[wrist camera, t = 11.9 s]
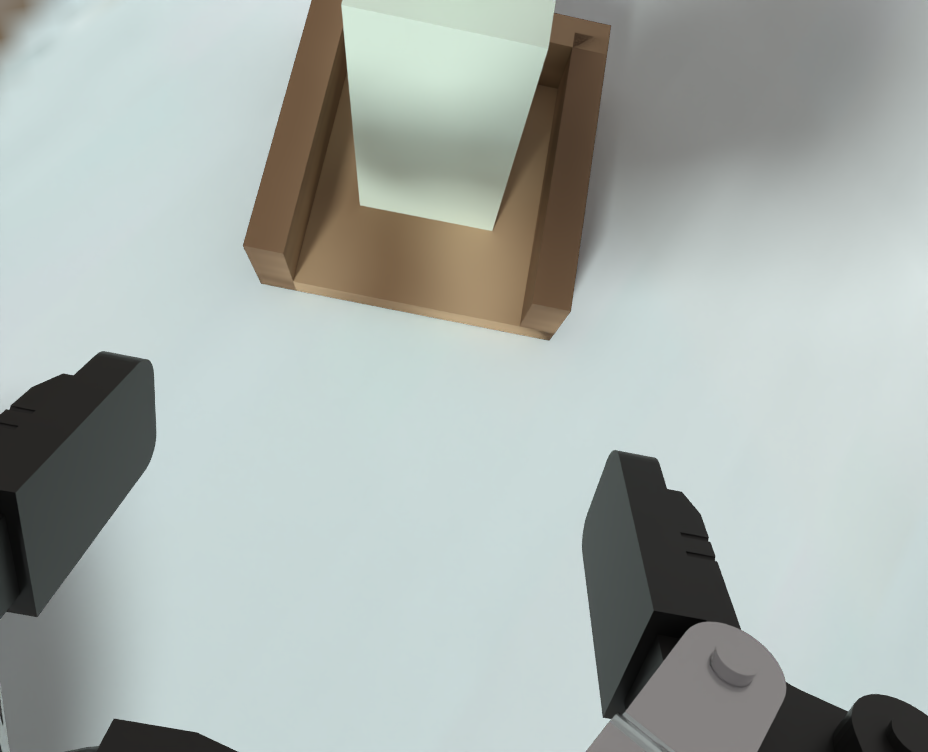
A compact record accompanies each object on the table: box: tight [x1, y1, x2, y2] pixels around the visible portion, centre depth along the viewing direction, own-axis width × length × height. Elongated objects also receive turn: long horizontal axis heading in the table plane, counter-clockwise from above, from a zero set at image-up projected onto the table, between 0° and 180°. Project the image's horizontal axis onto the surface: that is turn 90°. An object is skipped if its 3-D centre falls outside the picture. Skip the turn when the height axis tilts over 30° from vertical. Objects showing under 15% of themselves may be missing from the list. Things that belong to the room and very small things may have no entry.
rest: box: [243, 0, 611, 340], centre depth 24 cm, size 10×11×3 cm
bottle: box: [341, 0, 556, 231], centre depth 19 cm, size 5×5×12 cm
